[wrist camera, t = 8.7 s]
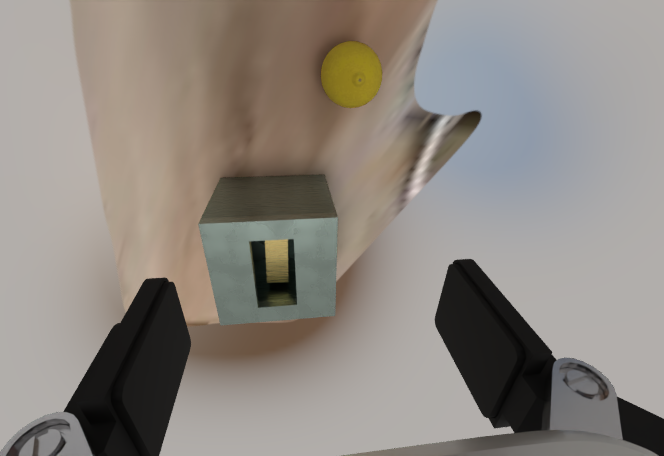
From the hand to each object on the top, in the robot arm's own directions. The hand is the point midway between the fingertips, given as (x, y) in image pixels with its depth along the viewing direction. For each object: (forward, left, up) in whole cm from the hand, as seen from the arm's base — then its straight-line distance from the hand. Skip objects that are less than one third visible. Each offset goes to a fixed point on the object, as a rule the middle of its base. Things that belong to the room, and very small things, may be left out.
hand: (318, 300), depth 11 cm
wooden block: (+16, -3, -24) cm, 29 cm away
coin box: (+12, -3, -28) cm, 30 cm away
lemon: (-5, +5, -28) cm, 29 cm away
